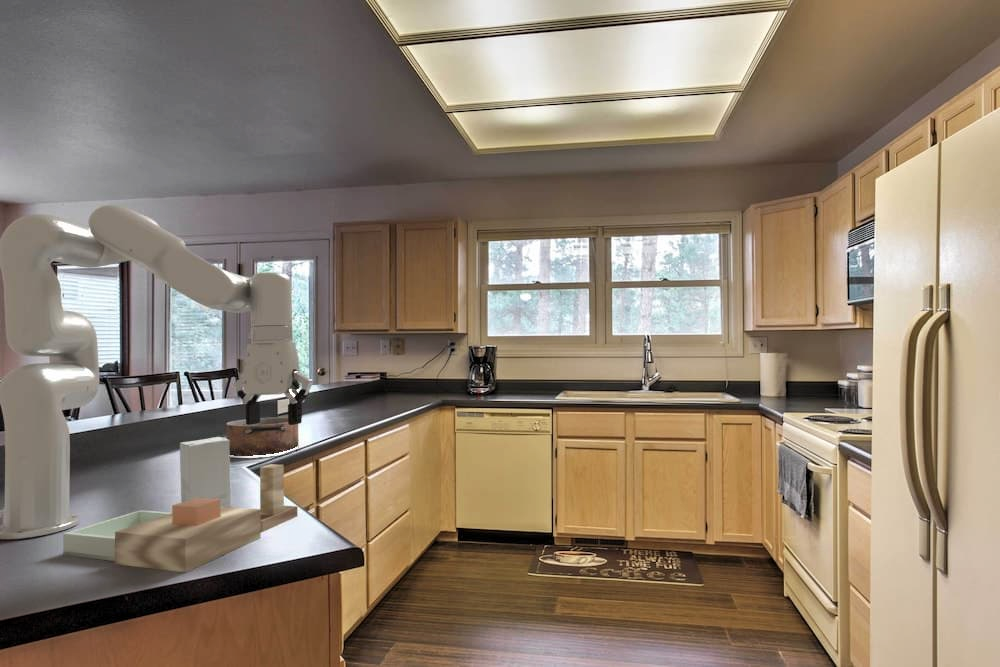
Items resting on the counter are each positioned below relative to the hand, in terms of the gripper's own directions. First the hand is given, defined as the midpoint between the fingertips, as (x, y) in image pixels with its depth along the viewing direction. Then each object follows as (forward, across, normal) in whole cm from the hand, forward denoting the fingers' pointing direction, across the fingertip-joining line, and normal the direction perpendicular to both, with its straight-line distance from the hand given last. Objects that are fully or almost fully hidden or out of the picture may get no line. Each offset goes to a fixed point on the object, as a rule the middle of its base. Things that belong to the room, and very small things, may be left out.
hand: (273, 424), depth 108 cm
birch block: (+19, -4, -16) cm, 25 cm away
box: (+19, -17, -16) cm, 30 cm away
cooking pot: (+19, -58, +66) cm, 89 cm away
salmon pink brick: (+14, -3, -16) cm, 22 cm away
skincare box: (+19, -21, +4) cm, 28 cm away
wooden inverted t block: (+19, -1, 0) cm, 19 cm away
